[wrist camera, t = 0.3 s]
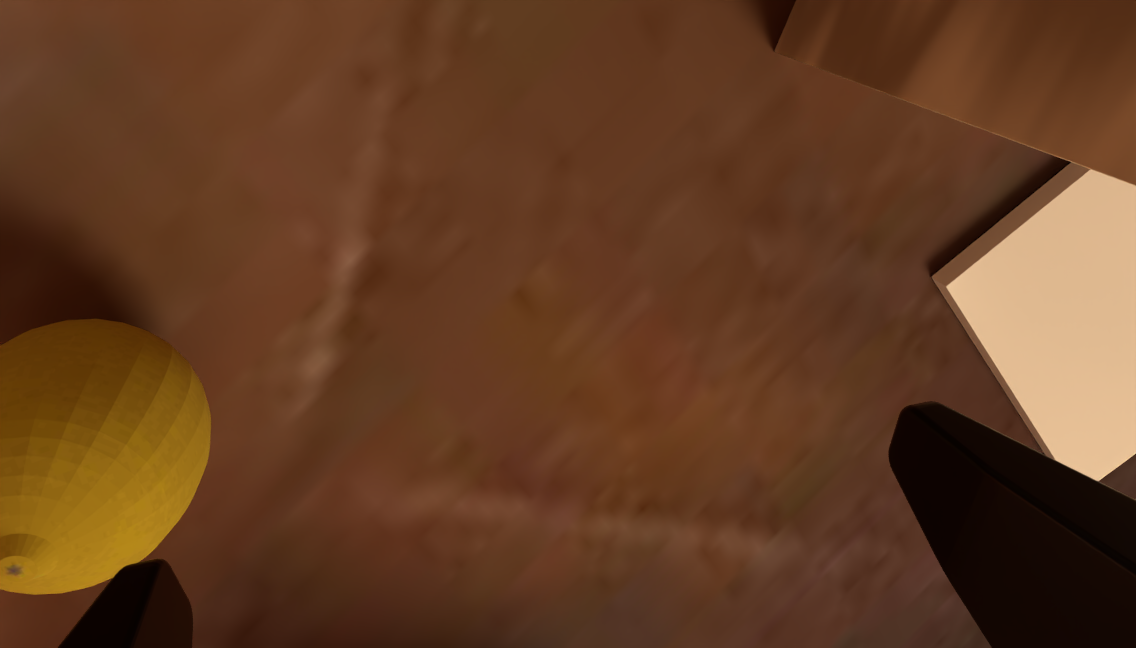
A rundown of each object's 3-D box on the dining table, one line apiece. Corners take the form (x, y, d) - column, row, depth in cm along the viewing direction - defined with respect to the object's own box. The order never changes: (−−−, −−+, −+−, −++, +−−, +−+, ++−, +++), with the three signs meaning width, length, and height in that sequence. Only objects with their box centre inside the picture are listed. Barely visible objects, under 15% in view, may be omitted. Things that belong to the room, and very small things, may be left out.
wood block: (908, 102, 23) (1399, 283, 12) (773, 51, 22) (1206, 210, 11) (997, -72, 21) (1674, -41, 10) (856, -143, 20) (1492, -196, 9)
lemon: (129, 230, 20) (9, 403, 13) (272, 375, 23) (235, 577, 16) (-43, 341, 20) (-247, 565, 13) (119, 469, 23) (19, 707, 16)
